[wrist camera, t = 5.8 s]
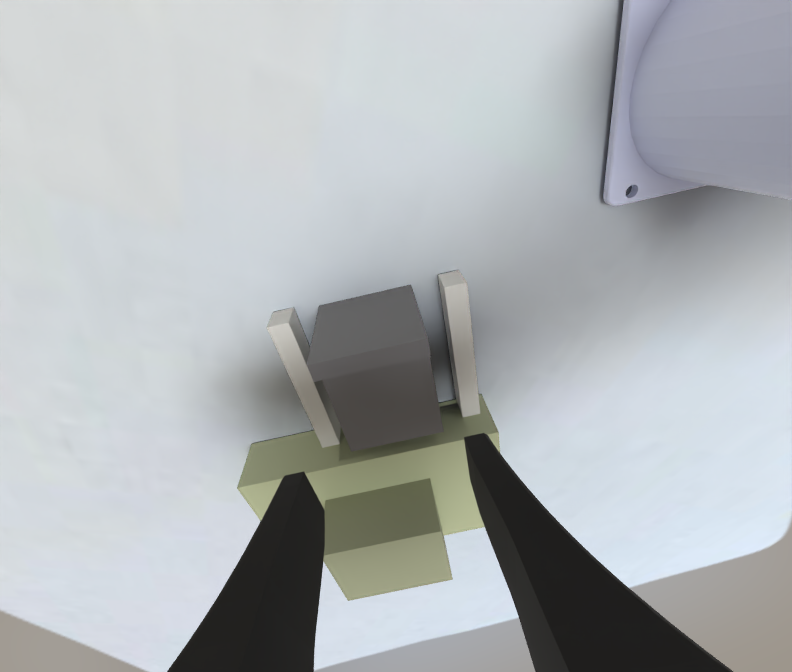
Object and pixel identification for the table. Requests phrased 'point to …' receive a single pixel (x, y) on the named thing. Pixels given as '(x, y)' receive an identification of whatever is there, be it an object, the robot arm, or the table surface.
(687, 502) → the table surface
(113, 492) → the table surface
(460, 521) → the green post base
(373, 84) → the table surface
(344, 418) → the grey overhanging lid block
